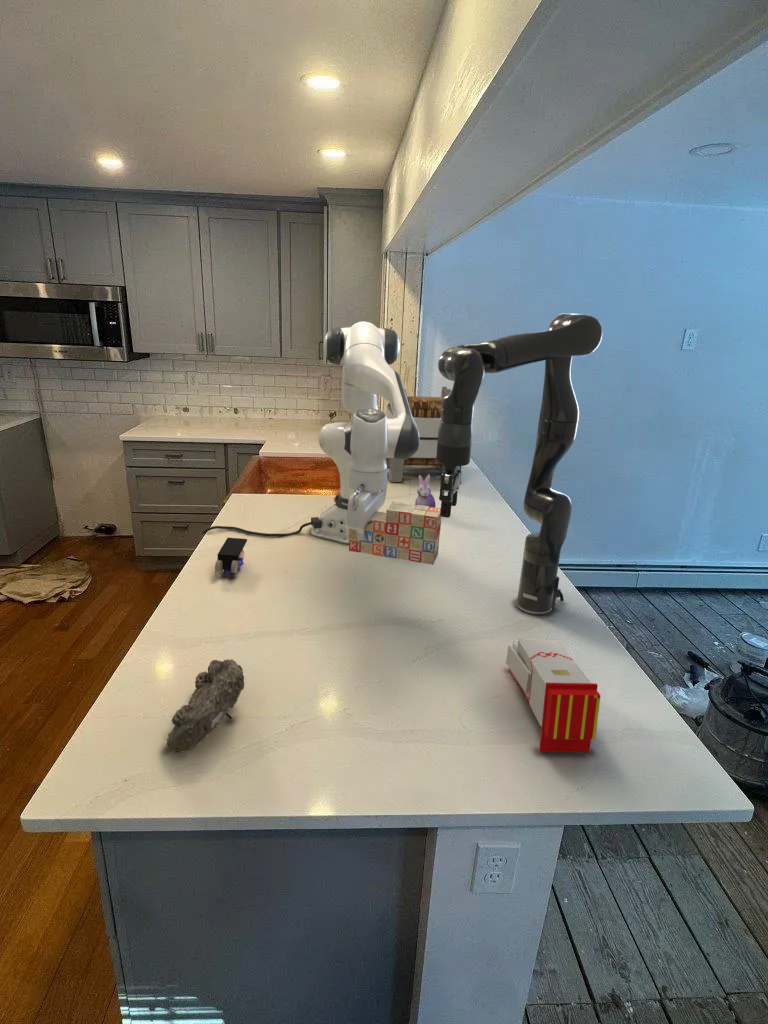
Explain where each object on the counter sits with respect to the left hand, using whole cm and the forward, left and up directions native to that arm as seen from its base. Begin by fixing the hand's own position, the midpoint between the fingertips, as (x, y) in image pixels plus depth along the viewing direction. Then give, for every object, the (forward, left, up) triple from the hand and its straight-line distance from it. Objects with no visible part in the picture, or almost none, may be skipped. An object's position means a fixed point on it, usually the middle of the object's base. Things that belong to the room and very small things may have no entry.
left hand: (365, 533), depth 139 cm
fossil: (-15, -47, -23) cm, 54 cm away
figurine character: (-44, +11, -23) cm, 51 cm away
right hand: (+20, -1, +9) cm, 22 cm away
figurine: (-1, +82, -23) cm, 86 cm away
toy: (+46, -22, -23) cm, 55 cm away
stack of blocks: (+7, 0, -4) cm, 8 cm away
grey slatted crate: (-16, +137, -23) cm, 140 cm away
